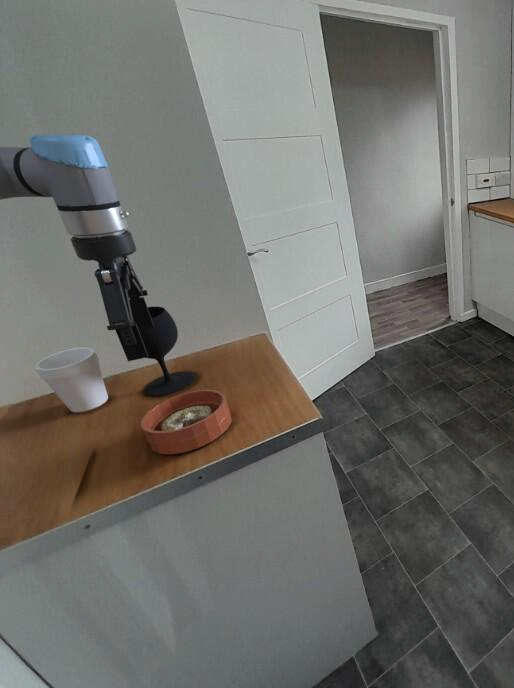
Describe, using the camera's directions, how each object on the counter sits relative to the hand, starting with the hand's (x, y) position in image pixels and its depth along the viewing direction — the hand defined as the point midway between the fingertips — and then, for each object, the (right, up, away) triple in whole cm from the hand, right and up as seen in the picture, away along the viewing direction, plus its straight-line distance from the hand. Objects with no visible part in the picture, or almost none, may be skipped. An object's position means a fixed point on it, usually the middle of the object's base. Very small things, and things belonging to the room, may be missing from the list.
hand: (142, 342), depth 78 cm
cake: (+1, -20, +10) cm, 23 cm away
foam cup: (-29, -17, +18) cm, 38 cm away
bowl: (+1, -20, +11) cm, 23 cm away
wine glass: (-16, -13, +26) cm, 34 cm away
